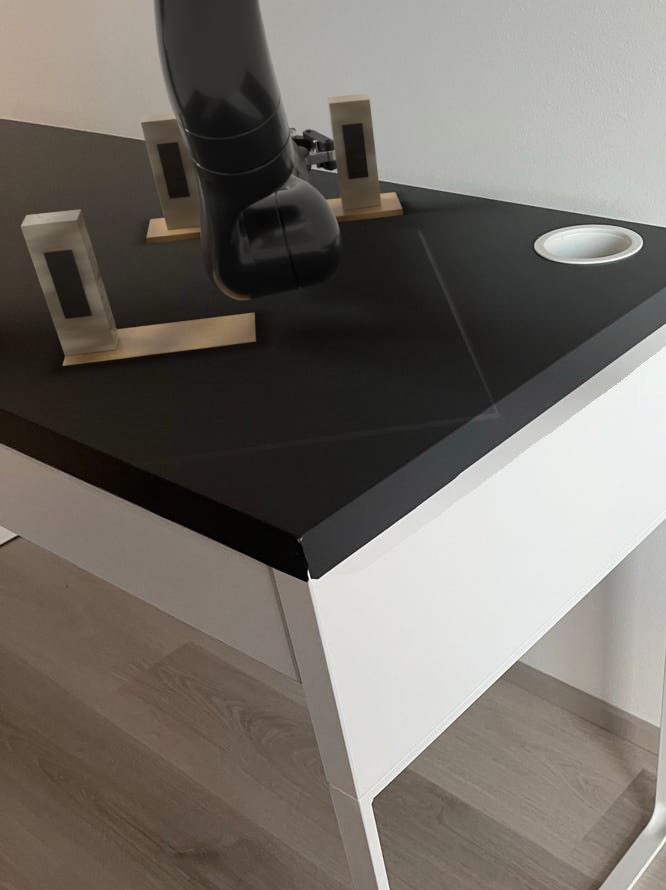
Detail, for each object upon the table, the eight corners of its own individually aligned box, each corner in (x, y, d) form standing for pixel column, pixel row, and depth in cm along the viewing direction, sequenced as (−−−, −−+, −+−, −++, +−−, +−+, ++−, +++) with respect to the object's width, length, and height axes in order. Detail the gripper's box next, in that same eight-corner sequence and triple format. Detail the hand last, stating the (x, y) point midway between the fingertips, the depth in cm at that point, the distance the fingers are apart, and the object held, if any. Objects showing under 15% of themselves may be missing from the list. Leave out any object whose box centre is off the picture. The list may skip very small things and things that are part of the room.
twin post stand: (148, 247, 100) (117, 128, 93) (152, 228, 105) (122, 113, 97) (403, 218, 103) (391, 100, 96) (396, 201, 107) (384, 87, 100)
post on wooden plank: (66, 377, 78) (16, 233, 71) (75, 346, 82) (29, 208, 75) (258, 352, 79) (228, 209, 72) (257, 323, 84) (229, 186, 77)
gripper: (340, 129, 86) (327, 88, 99) (175, 147, 85) (183, 103, 98) (352, 218, 91) (338, 168, 104) (196, 237, 90) (201, 184, 103)
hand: (263, 137), depth 101 cm, fingers closed on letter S, 4 cm apart
